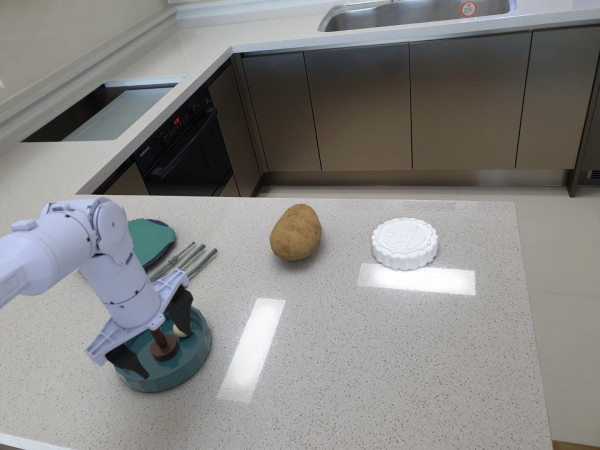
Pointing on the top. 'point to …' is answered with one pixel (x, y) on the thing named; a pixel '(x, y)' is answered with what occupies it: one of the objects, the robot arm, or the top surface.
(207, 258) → the cutlery set
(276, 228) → the potato
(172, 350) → the wooden pestle
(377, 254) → the mooncake
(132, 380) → the bowl
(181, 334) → the dough ball
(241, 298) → the top surface
